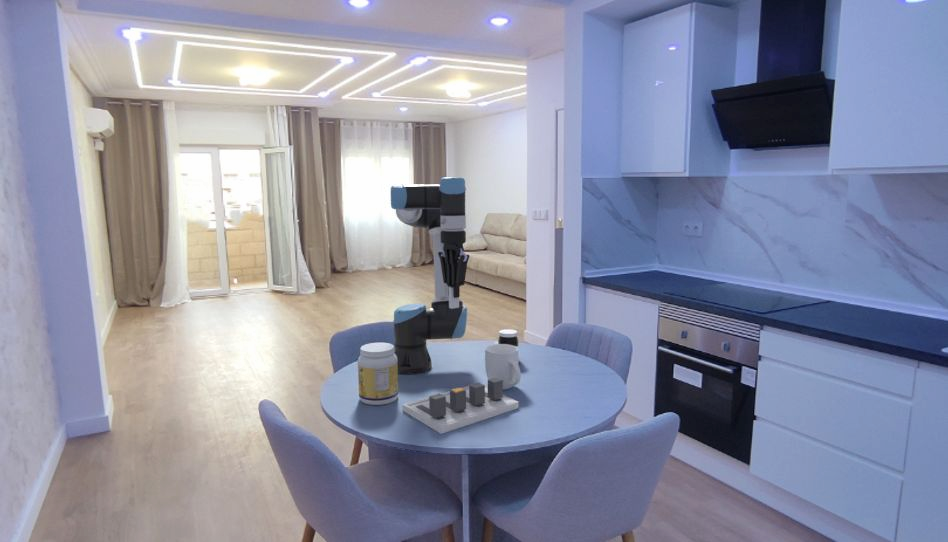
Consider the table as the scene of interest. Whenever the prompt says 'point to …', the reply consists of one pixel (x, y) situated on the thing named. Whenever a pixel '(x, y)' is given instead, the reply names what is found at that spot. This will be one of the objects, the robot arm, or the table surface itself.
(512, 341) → the spread jar
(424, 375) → the table surface
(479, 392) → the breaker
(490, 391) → the breaker
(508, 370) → the mug
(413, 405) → the panel
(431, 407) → the breaker
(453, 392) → the breaker
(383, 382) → the supplement tub
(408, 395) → the table surface
